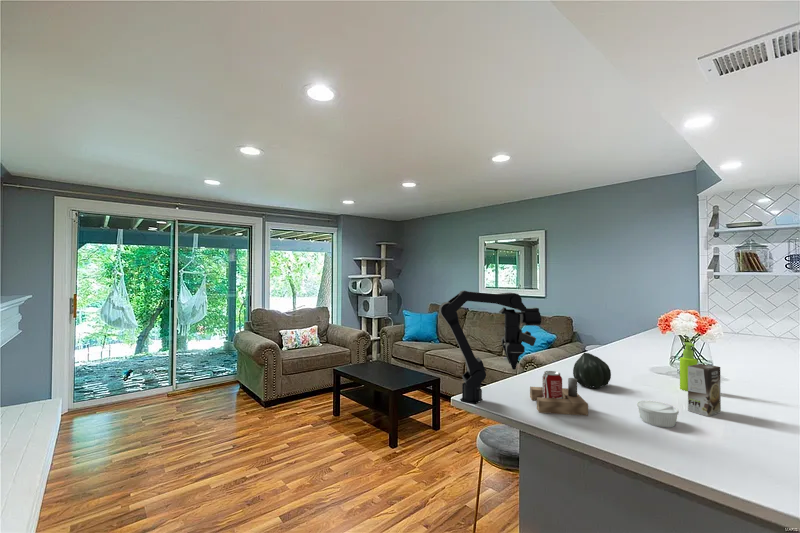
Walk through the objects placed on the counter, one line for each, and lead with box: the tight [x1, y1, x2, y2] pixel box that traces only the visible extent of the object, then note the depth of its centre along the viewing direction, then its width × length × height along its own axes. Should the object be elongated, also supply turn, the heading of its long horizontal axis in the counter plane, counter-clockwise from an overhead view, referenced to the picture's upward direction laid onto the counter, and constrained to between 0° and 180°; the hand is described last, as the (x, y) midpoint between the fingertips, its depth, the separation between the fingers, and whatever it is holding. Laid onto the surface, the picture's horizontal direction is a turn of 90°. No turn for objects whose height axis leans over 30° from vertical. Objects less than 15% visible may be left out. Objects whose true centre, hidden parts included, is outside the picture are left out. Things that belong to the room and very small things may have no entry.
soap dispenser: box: [679, 341, 698, 392], centre depth 158 cm, size 6×7×20 cm
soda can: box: [542, 370, 563, 399], centre depth 138 cm, size 7×7×12 cm
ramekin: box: [636, 400, 680, 428], centre depth 123 cm, size 11×11×5 cm
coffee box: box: [687, 363, 722, 417], centre depth 133 cm, size 9×6×16 cm
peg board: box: [529, 377, 589, 417], centre depth 138 cm, size 16×17×10 cm
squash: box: [572, 352, 612, 389], centre depth 163 cm, size 14×15×15 cm
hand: (512, 366), depth 143 cm, fingers open, 9 cm apart
